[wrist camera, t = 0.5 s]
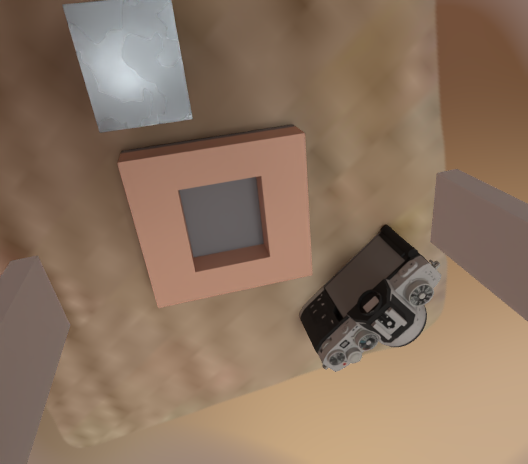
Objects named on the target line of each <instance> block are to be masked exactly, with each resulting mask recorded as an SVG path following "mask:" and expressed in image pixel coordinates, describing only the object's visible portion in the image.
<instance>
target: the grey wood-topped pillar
mask: <svg viewBox="0 0 528 464" xmlns="http://www.w3.org/2000/svg"><path fill="white" fill-rule="evenodd" d="M63 9H64V12H65V16H66V19H67V22H68V26H69V29H70V33H71V36H72V40H73V43H74V46H75V50H76V53H77V57H78V60H79V63H80V67H81V70H82V74H83V77H84V81H85V84H86V87H87V91H88V94H89V98H90V101H91V105H92V108H93V111H94V115H95V118H96V122H97V125H98V129H99V132H100V133H101V132H108V131H115V130H122V129H128V128H135V127H142V126H149V125H156V124H162V123H169V122H176V121H183V120H190V119H193V118H192V112H191V107H190V101H189V96H188V90H187V85H186V79H185V74H184V68H183V63H182V57H181V52H180V46H179V41H178V35H177V30H176V24H175V18H174V13H173V7H172V2H171V0H104V1H94V2H84V3H74V4H64V5H63Z"/></svg>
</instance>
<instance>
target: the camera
mask: <svg viewBox="0 0 528 464" xmlns="http://www.w3.org/2000/svg"><path fill="white" fill-rule="evenodd" d="M429 261H430V262H431V263H432V264H430V263H429V262H428V261H427V260H426V259H425V258H424V257H423V256H422V255H421V254H419V253H418V251H417V250H416V249H415V248H414V247H412V246H411V245H410V244H409V243H407V242H406V241H405V240H404V239H403V238H402V237H400V236H399V235H398V234H397V233H396V232H395V231H394V230H392V228H390V227H389V226H388V225H385V226H384V227H383V228H382V229H381V232H379V233H378V234H377V235H376V236H375V237H374V238H373V239H372V240H371V241H370V242H369V243H368V244H367V245H366V246H365V247H364V248H363V249H362V250H361V251H360V252H358V253H357V254H356V255H355V256H354V257H353V258H352V259H351V260H350V261H349V262H348V263H347V264H346V265H345V266H344V267H343V268H342V269H341V270H340V271H339V272H338V273H337V274H336V275H335V276H333V277H332V278H331V279H330V280H329V281H328V282H327V283H326V284H325V285H324V286H323V287H322V288H321V289H320V290H319V291H318V292H317V293H316V294H315V295H314V296H313V297H312V298H311V299H310V300H309V301H308V302H307V303H306V304H305V305H304V306H303V307H302V309H301V311H300V313H299V316H300V319H301V321H302V323H303V326H304V328H305V330H306V332H307V334H308V336H309V338H310V340H311V342H312V344H313V347H314V349H315V351H316V352H317V353H318V355H319V357H320V359H321V361H322V363H323V368H324V369H328V368H330V369H332V370H333V371H335V372H336V371H339V370H341V369H343V368H345V367H346V366H348V365H349V364H350V363H356V362H359V361H360V360H361V358H362V353H363V352H364V351H368V350H371V349H373V348H374V347H375V346H376V345H377V343H378V341H379V342H380V343H382V344H384V345H387V346H390V347H401V346H405V345H407V344H409V343H411V342H412V341H414V340H415V339H416V338H417V337H418V336H419V335H420V334H421V332H422V331H423V329H424V326H425V324H426V320H427V313H426V308H425V306H424V305H425V304H426V303H428V302H429V301H430V300H431V298H432V297H433V294H434V289H433V288H434V287H435V286H436V285H437V284H438V282H439V281H440V279H441V274H440V273H439V272H438V271H437V270H436V269H437V268H438V267H439V266H440V263H439V262H438V261H435V262H433V261H432V260H429ZM436 264H437V265H436ZM435 265H436V266H435Z"/></svg>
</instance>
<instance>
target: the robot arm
mask: <svg viewBox="0 0 528 464" xmlns="http://www.w3.org/2000/svg"><path fill="white" fill-rule="evenodd" d="M430 242H431V243H432V244H434V245H435V246H436V247H437V248H439V249H440V250H441V251H442V252H443V253H445V254H446V255H447V256H448V257H450V258H451V259H452V260H453V261H455V262H456V263H457V264H458V265H459V266H461V267H462V268H463V269H464V270H466V271H467V272H468V273H469V274H470V275H472V276H473V277H474V278H475V279H476V280H478V281H479V282H480V283H481V284H483V285H484V286H485V287H487V288H488V289H489V290H490V291H491V292H492V293H494V294H495V295H496V296H497V297H499V298H500V299H501V300H502V301H503V302H505V303H506V304H507V305H508V306H510V307H511V308H512V309H513V310H514V311H516V312H517V313H518V314H519V315H521V316H522V317H523V318H524V319H525V320H527V321H528V204H527V203H525V202H523V201H521V200H519V199H517V198H515V197H513V196H511V195H509V194H507V193H505V192H503V191H501V190H499V189H497V188H495V187H492V186H490V185H488V184H486V183H484V182H482V181H480V180H478V179H476V178H474V177H472V176H470V175H468V174H466V173H464V172H462V171H460V170H458V169H455V170H450V171H445V172H440V173H437V177H436V188H435V198H434V209H433V219H432V230H431V241H430ZM69 327H70V324H69V321H68V319H67V317H66V315H65V313H64V311H63V309H62V307H61V304H60V302H59V300H58V298H57V296H56V294H55V292H54V289H53V287H52V285H51V283H50V281H49V279H48V277H47V274H46V272H45V270H44V268H43V266H42V264H41V262H40V259H39V257H38V256H33V257H28V258H23V259H19V260H14V261H10V263H9V265H8V266H7V268H6V269H5V271H4V272H3V274H2V275H1V277H0V464H27V462H28V458H29V455H30V452H31V449H32V446H33V442H34V439H35V436H36V433H37V429H38V426H39V423H40V420H41V417H42V414H43V411H44V407H45V404H46V401H47V398H48V395H49V391H50V388H51V385H52V382H53V379H54V375H55V372H56V369H57V366H58V363H59V359H60V356H61V353H62V350H63V347H64V343H65V340H66V337H67V334H68V331H69Z"/></svg>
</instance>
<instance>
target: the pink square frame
mask: <svg viewBox="0 0 528 464" xmlns="http://www.w3.org/2000/svg"><path fill="white" fill-rule="evenodd" d="M117 164H118V167H119V171H120V174H121V178H122V181H123V185H124V188H125V192H126V196H127V199H128V203H129V206H130V210H131V213H132V217H133V220H134V224H135V228H136V231H137V235H138V238H139V242H140V245H141V249H142V252H143V256H144V260H145V263H146V267H147V270H148V274H149V277H150V281H151V284H152V288H153V291H154V295H155V299H156V302H157V306H158V308H161V307H165V306H170V305H175V304H179V303H184V302H189V301H193V300H198V299H203V298H207V297H212V296H217V295H222V294H226V293H231V292H236V291H240V290H245V289H250V288H254V287H259V286H264V285H268V284H273V283H278V282H282V281H287V280H292V279H296V278H301V277H306V276H310V275H312V256H311V237H310V219H309V200H308V181H307V163H306V144H305V133H304V132H303V131H301V130H300V129H299V128H297V127H296V126H294V125H287V126H280V127H274V128H267V129H261V130H255V131H248V132H242V133H235V134H229V135H222V136H216V137H209V138H203V139H196V140H190V141H183V142H177V143H170V144H164V145H158V146H151V147H145V148H138V149H132V150H125V151H121V154H120V157H119V160H118V162H117Z"/></svg>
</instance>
